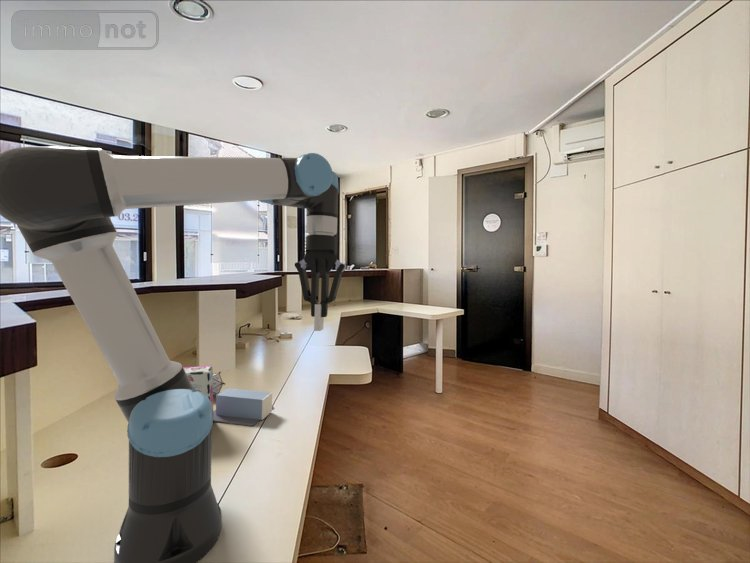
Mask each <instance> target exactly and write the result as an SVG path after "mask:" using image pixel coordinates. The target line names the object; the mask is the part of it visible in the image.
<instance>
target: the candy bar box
mask: <svg viewBox="0 0 750 563" xmlns="http://www.w3.org/2000/svg"><path fill="white" fill-rule="evenodd" d="M182 367H183V369H184V371H185V372H186V374H187V376H188V379H189V381H190V383H191V384H192V385H193V386H194V388H195V390H196V392H197V391H198V392H201V393H203V394H204V395H206V396H207V397H208V398H209V400H210V402H211V406H212V412H214V395H213V374H214V373H213V365H201V366H199V365H198V366H187V367H186V366H182Z"/></svg>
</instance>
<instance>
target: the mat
mask: <svg viewBox="0 0 750 563" xmlns="http://www.w3.org/2000/svg"><path fill="white" fill-rule="evenodd" d="M273 409H274V406H273V405H272V410H273ZM260 421H261V420H259V419H250V418H241V417H231V416H222V415H216V409H215V410H213V423H221V424H230V425H237V426H239V425H240V426H248V427H254V426H255V425H256V424H258V423H259V422H260Z"/></svg>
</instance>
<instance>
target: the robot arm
mask: <svg viewBox="0 0 750 563" xmlns="http://www.w3.org/2000/svg"><path fill="white" fill-rule="evenodd" d="M339 194H340V188H339V177H338V174H337V172H335V171H333V169H332V166H331V164H330V163H329V161H328V160H327V158H325V157H324V156H323V155H321V154H319V153H315V152H308V153H306V154H302V155H300V156H299V157H239V156H238V157H237V156H235V157H232V156H230V157H229V156H227V157H224V156H223V157H222V156H217V157H216V156H156V155H155V156H153V155H152V156H146V155H145V156H144V155H141V156H139V155H112V154H110V153H108V152H106V151H105V150H104V149H102V148H100V147H72V146H71V147H70V146H69V147H68V146H21V147H16V148H12V149H8V150H5V151H3V152H1V153H0V216H1V217H2V218H3V219H5V220H7V221H8V222H10V223H13V224H14V225H16V226H17V228H18V231H20V233H21V235H22V237H23V239H24V241H25V243H26V244H27V246H28V247H29V249H30V251H31V252H32V255H33V256H36V257H39V258H42V259H45V260H47V261H49V262H50V263H51V264H52V265H53V267H54V269H55V271H56V273H57V274H58V276H59V278H60V280H61V282H62V284H63V285H64V287H65V289H66V290H67V293H68V294H69V296H70V299H71V300H72V301H73V304H74V305H75V307H76V309H77V311H78V312H79V314H80V316H81V319H83V321H84V324H85V325H86V327H87V328H88V329H87V330H89V332H90V334H91V336H92V338H93V339H94V341H95V344H96V345H97V347H98V349H99V350H100V352H101V354H102V356H103V357H104V359H105V361H106V363H107V365H108V367H109V369H110V370H111V372H112V373H113V376H114V377H115V379H116V381H117V383H118V386H117V388H116V390H115V392H114V395H113V397H114V400H115V402H116V403H117V405H118V407H119V408H120V411H121V412H122V413H123V416H124V418H125V420H126V421H127V423H128V424H127V429H126V430H127V431H126V432H127V438H128V506H127V510H126V513H125V515H124V518H123V521H122V523H121V525H120V529H119V533H118V534H117V537H116V540H115V542H114V550H113V553H114V554H113V555H114V556H113V557H114V558H113V563H197V562H199V560H201V559H202V558H203V557H204V556H205V555H206V554H207V553H209V551H210V550H211V549H212V548H213V547H214V546H215V545H216V543H217V541H218V540H219V537H220V535H221V532H222V518H223V516H222V510H221V507H220V504H219V503H218V501H217V498H216V495H215V492H214V489H213V486H212V446H213V445H212V443H213V440H212V434H213V425H214V424H213V423H214V422H213V412H214V411H213V412H212V406H211V402H210V400H209V398H208V397H207V396H206V395H204V394H203V393H201V392H198V391H197V392H196V390H195V388H194V386H193V385H192V384H191V383H190V381H189V379H188V376H187V374H186V372H185V371H184V369H183V367H184V366H183V365H182V364H181V362H178V361H174V360H171V359H170V358H169V356H168V354H167V352H166V350H165V349H164V347H163V346H164V345H163V344H162V343H161V341H160V338H159V336H158V334H157V332H156V330H155V328H154V326H153V324H152V322H151V320H150V318H149V316H148V314H147V312H146V310H145V309H144V307H143V305H142V303H141V300H140V298H139V296H138V294H137V292H136V290H135V288H134V286H133V284H132V282H131V280H130V278H129V276H128V274H127V272H126V270H125V268H124V265H123V264H122V262H121V260H120V258H119V256H118V254H117V252H116V250H115V248H114V246H113V244H114V243H115V240H116V238H117V235H118V231H117V230H116V227H115V226H114V223H113V222H112V219H111V218H112V217H113V218H114V217H119V215H121V213H122V212H123V211H125V210H129V209H133V210H134V209H146V208H147V209H148V208H161V207H176V206H190V205H191V206H193V205H205V204H206V205H207V204H208V205H209V204H218V203H219V204H221V203H222V204H224V203H225V204H226V203H236V202H251V201H252V202H254V201H255V202H256V201H259V202H261V203H264V204H268V205H269V204H270V205H271V206H275V205H276V206H283V207H290V208H291V207H293V208H298V209H306V223H305V224H306V225H305V231H306V233H307V235H306V236H305V254H304V256H303V259H301V260H300V261H297V262H295V263H294V267H295V269H296V270H297V272H298V277H299V281H300V286H301V292H302V296H303V301H305V302H308V303H310V316H311V317H312V318H313V317H314V320H313V321H314V322H313V324H314V326H313V328H314V329H313V331H314V332H321V331H323V330H324V322H325V321H324V320H325V319H324V318H327V317H328V313H329V312H328V308H329V306H328V305H329V303H333V302H335V301H336V298H337V294H338V292H339V287H340V285H341V284H340V283H341V280H342V276H343V273H344V272H345V270H346V269H347V267H348V266H347V264H345V263H343V262H341V261H340V260H339V257H338V254H337V246H338V244H337V240H338V238H337V236H336V235H337V234H338V209H339V208H338V207H339ZM307 267H308V268H309V270H310V277H311V278H310V279H311V280H310V282H311V283H310V282H309V277H308V272H307V270H306V268H307ZM334 267H335V272H334V275H333V279H332V282H331V286H330V276H331V271H332V270H333V268H334ZM320 277H321V283H320ZM320 286H321V287H320ZM330 287H331V288H330ZM320 288H321V289H320ZM329 289H330V291H329ZM319 290H320V291H319ZM319 295H320V298H319ZM319 299H320V300H319Z"/></svg>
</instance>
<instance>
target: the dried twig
mask: <svg viewBox="0 0 750 563" xmlns="http://www.w3.org/2000/svg"><path fill="white" fill-rule="evenodd" d="M221 373H222V372H221V371H219V372H218V373H213V396H216V395H217V394H219V393H221V390H222V388H223V386H225V385H226V383H225V382H224V381H223V379H222V376H221Z"/></svg>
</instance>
